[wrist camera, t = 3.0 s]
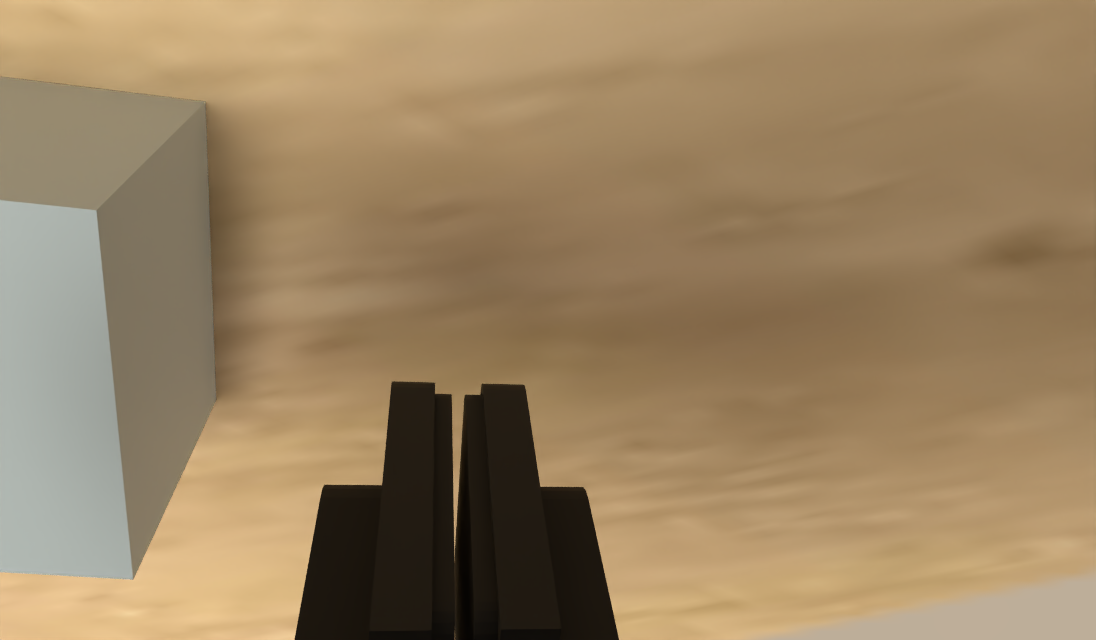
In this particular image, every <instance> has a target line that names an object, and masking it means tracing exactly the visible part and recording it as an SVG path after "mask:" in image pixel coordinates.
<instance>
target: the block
mask: <svg viewBox="0 0 1096 640" xmlns="http://www.w3.org/2000/svg"><path fill="white" fill-rule="evenodd" d="M215 402H216V377H215V349H214V321H213V293H212V265H211V238H210V210H209V182H208V154H207V126H206V102H204V101H196V100H188V99H180V98H172V97H164V96H155V95H147V94H139V93H131V92H123V91H114V90H106V89H98V88H90V87H82V86H73V85H65V84H57V83H49V82H41V81H33V80H24V79H16V78H8V77H0V572H8V573H26V574H43V575H61V576H79V577H97V578H114V579H132V580H133V579H134V577H135V575H136V572H137V570H138V568H139V566H140V564H141V562H142V559H143V557H144V555H145V553H146V551H147V549H148V546H149V544H150V542H151V540H152V538H153V536H154V534H155V531H156V529H157V527H158V525H159V523H160V521H161V518H162V516H163V514H164V512H165V510H166V508H167V505H168V503H169V501H170V499H171V497H172V495H173V492H174V490H175V488H176V486H177V484H178V482H179V480H180V477H181V475H182V473H183V471H184V469H185V467H186V464H187V462H188V460H189V458H190V456H191V454H192V451H193V449H194V447H195V445H196V443H197V441H198V438H199V436H200V434H201V432H202V430H203V428H204V426H205V423H206V421H207V419H208V417H209V415H210V413H211V410H212V408H213V406H214V404H215Z"/></svg>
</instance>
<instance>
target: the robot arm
mask: <svg viewBox="0 0 1096 640" xmlns="http://www.w3.org/2000/svg"><path fill="white" fill-rule="evenodd" d="M454 639H455V640H619V638H618V633H617V628H616V624H615V619H614V615H613V610H612V605H611V601H610V596H609V592H608V587H607V582H606V578H605V573H604V569H603V564H602V559H601V555H600V550H599V546H598V541H597V536H596V532H595V527H594V523H593V518H592V513H591V509H590V504H589V500H588V496H587V493H586V490H585V489H584V488H583V487H540V483H539V476H538V469H537V462H536V456H535V449H534V442H533V435H532V429H531V422H530V415H529V408H528V402H527V395H526V389H525V386H524V385H510V384H482V386H481V394H480V395H465V398H464V412H463V429H462V445H461V461H460V478H459V494H458V510H457V527H456V543H455V563H454V510H453V449H452V395H451V394H435V383H429V382H392V385H391V395H390V406H389V417H388V428H387V439H386V450H385V461H384V472H383V483H382V485H324V487H323V489H322V493H321V498H320V503H319V509H318V514H317V520H316V525H315V531H314V536H313V542H312V547H311V553H310V558H309V564H308V569H307V575H306V580H305V586H304V591H303V597H302V602H301V608H300V613H299V619H298V624H297V630H296V635H295V640H454Z"/></svg>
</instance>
